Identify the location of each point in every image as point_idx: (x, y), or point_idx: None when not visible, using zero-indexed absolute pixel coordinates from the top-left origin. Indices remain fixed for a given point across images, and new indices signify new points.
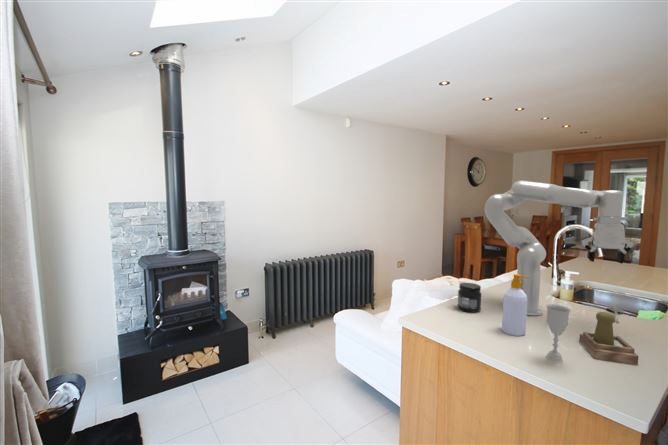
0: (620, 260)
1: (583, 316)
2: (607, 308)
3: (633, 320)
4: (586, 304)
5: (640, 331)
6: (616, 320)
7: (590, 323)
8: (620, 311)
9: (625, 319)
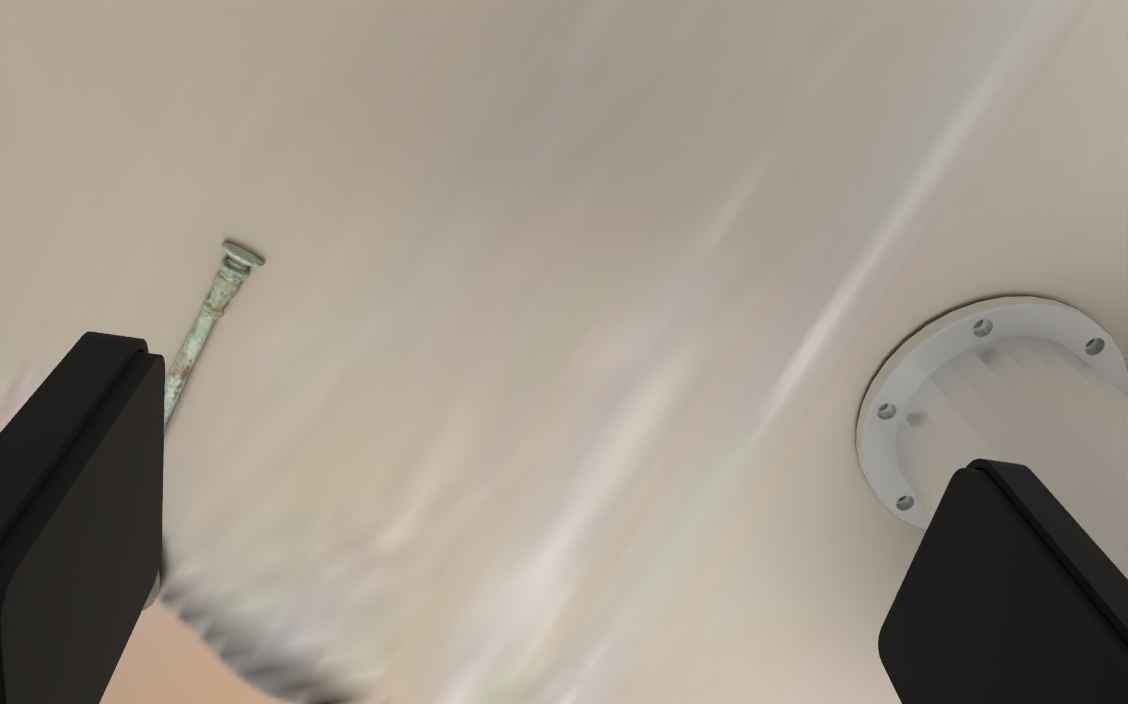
0: (132, 416)
1: (491, 371)
2: (158, 575)
3: (29, 348)
4: (280, 685)
5: (113, 31)
6: (241, 257)
7: (533, 184)
8: None
9: None
